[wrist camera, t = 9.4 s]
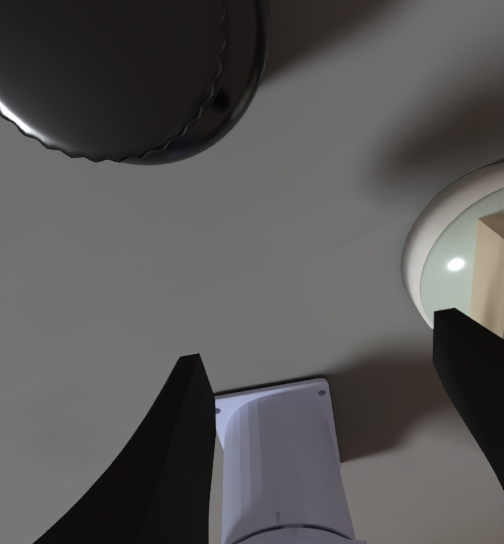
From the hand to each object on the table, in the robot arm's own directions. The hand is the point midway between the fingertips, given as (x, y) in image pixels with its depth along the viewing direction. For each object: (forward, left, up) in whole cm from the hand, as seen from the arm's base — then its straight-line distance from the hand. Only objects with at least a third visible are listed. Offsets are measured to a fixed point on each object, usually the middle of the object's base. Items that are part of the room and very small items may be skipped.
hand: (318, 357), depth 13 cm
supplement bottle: (+9, +3, -11) cm, 15 cm away
